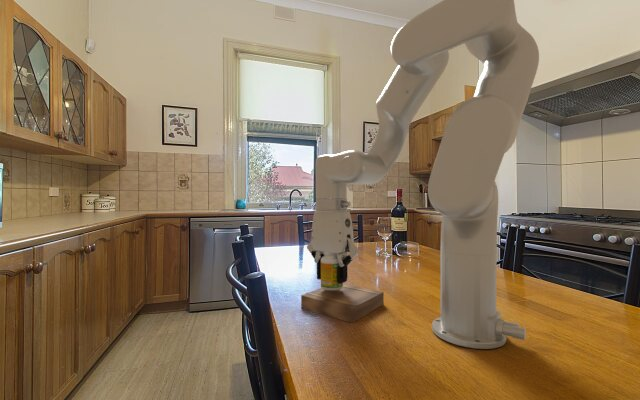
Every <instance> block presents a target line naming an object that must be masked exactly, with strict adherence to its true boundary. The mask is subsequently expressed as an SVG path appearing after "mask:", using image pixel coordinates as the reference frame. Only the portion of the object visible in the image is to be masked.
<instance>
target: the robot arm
mask: <svg viewBox="0 0 640 400" xmlns="http://www.w3.org/2000/svg"><path fill="white" fill-rule="evenodd" d="M517 18H518V17H517V13H516V7H515V0H441V1H440V2H438V3H436V4H434V5H433V6H431V7H429V8H427V9H425V10H424V11H422V12H421V13H418V14H417V15H416V16H414V17H412V18H411V19H410V20H409V21H407V22H406V23H405V24H403V25H402V26H401V27H400V28H399V29H398V30H397V32H396V33H395V35H394V36H393V39H392V41H391V45H390V54H391V57H392V59H393V61H394V62H395V64H397V67H396V68H395V70H394V72H393V73H392V76H391V77H390V78H389V80H388V82H387V84H386V85H385V86H384V89H383V90H382V92H381V93H380V95H379V97H378V99H377V100H376V102H375V103H376V105H375V107H376V114H377V118H378V130H377V134H376V137H375V139H374V141H373V143H371V144H372V145H371V146H370V148H369V150H368V151H367V152H366V151H365V152H364V151H362V150H361V151H360V150H356V149H351V150H346V151H342V152H340V153H336V154H322V155H318V156H317V157H316V159H315V211H314V212H313V215H312V216H313V217H312V223H311V225H312V226H311V239H310V242H309V243H308V244H307V245H306V249H307V250H308V252H309V253H310V255H311V257H312V258H313V260H314V263H315V264H316V279H317V280H318V281H319V280H320V281H321V258H322V257H323V256H324V254H323V252H329V253H332V254H336V255H337V259H338V262H339V266H338V267H337V283H339V284H341V283H343V284H345V283H346V282H347V281H348V278H349V277H348V266H349V265H350V264H351V262H352V261H353V260H354V259H355V258H356V257H357V256H358V255H359V254H360V251H359V250H358V248H357V246H356V245H355V239H354V238H355V237H354V228H353V221H352V220H353V219H352V216H351V213H350V211H347V210H348V208H349V207H351V201H348V198H347V196H348V195H347V192H348V191H347V186H348V185H347V184H350V185H367V186H373V185H376V184H378V183H380V181H382V180H384V177H386V176H387V174H388V173H389V172H390V170H391V168H392V167H393V165H394V164H395V162H396V161H397V159H398V158H399V156H400V154H401V152H402V150H403V149H404V148H403V147H404V145H405V142H406V139H407V136H408V133H409V129H410V125H411V123H412V121H413V120H414V118H415V116H416V114H417V113H418V111H419V109H420V108H421V107H422V106H423V104H424V102H425V101H426V99H427V98H428V96H429V94H430V93H431V92H432V90H433V88H435V86H436V84H437V83H438V81H439V79H440V78H441V76H442V75H443V73H444V71H445V70H446V68H447V66H448V64H449V63H448V62H449V58H450V57H449V55H450V53H449V51H450V50H452V49H455V48H457V47H458V46H462V45H463V44H464V45H465V47H466V49H467V51H468V53H470V54H471V55H472V56H473V57H475V58H476V59H478V60H479V61H481V63H482V64H483V71H482V73H481V74H480V77H479V79H478V81H477V83H476V87H475V92H474V95H473V96H472V97H469V98H468V99H466V100H464V101H463V102H461V103H460V104H459V105H458V106H457V107H456V108H455V110H454V111H453V112H452V113H451V115H450V116H449V119H448V120H447V122H446V125H445V128H444V132H443V134H442V137H441V141H440V143H439V147H438V151H437V153H436V156H435V159H434V162H433V166H432V169H431V172H430V176H429V179H428V184H427V195H428V200H429V203H430V204H431V206H432V207H433V208H434V210H435V211H437V212H438V213H439V214H440V215H441V225H440V316H439V317H437V318H435V319H434V320H433V321H432V323H431V329H432V332H433V333H434V334H435V336H437V337H439V338H440V339H442V340H443V341H445V342H448V343H451V344H452V345H456V346H459V347H464V348H469V349H475V350H476V349H477V350H478V349H479V350H490V349H497V348H500V347H502V346H504V345H505V344H506V343H507V337H512V338H513V339H518V340H522V341H526V335H527V333H526V332H527V330H526V328H525V327H521V326H520V323H518V322H513V321H506V320H505V319H504V318H502V317H501V315H502V314H501V311H500V310H497V254H498V253H497V252H498V251H497V249H498V244H497V243H498V241H497V239H498V216H499V215H498V214H499V213H498V212H499V211H498V210H499V190H498V187H497V183H496V177H497V175H498V172H499V169H500V167H501V164H502V162H503V159H504V156H505V154H506V153H507V152H508V151H509V150H510V149H511V148H512V146H513V144H514V143H515V141H516V137H517V134H518V131H519V126H520V123H521V120H522V116H523V114H524V112H525V109H526V106H527V103H528V99H529V96H530V94H531V90H532V87H533V84H534V80H535V78H536V75H537V71H538V68H539V63H540V53H539V46H538V44H537V41H536V40H535V38H534V36H532V34H531V33H530V32H529V31H527V30H526V29H525V28H524V27H523V26H521V24H519V22H518V20H517Z"/></svg>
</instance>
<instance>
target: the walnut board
mask: <svg viewBox="0 0 640 400" xmlns="http://www.w3.org/2000/svg"><path fill="white" fill-rule="evenodd" d="M384 294H385V293H384V291H379V290H375V289H371V288H364V287H360V286H355V285H350V284H345V283H343V288H342V289H340V290H335V291H329V290H324V289H322V288H321V287H320V288H317V289H314V290H312V291H310V292H305V293H303V294H301V296H300V298H301V303H300V304H301V305H300V307H301V309H303V310H307V311H310V312H314V313H316V314H320V315H323V316H327V317H330V318H333V319H338V320H341V321H344V322H348V323H354V322H356V321H358V320H359V319H361V318H363V317H364V316H367V315H368V314H370V313H371V312H373V311H375V310H377V309H379V308H380V307H382V306H384V305H385V303H384Z"/></svg>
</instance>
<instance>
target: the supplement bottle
mask: <svg viewBox="0 0 640 400" xmlns="http://www.w3.org/2000/svg"><path fill="white" fill-rule="evenodd" d="M323 254H324V256H323V257H322V258H321V279H320V288H322V289H324V290H329V291H335V290H340V289H342V288H343V284H344V283H341V284H339V283H337V267H338V266H339V262H338V259H337V255H336V254H332V253H329V252H323Z"/></svg>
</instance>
